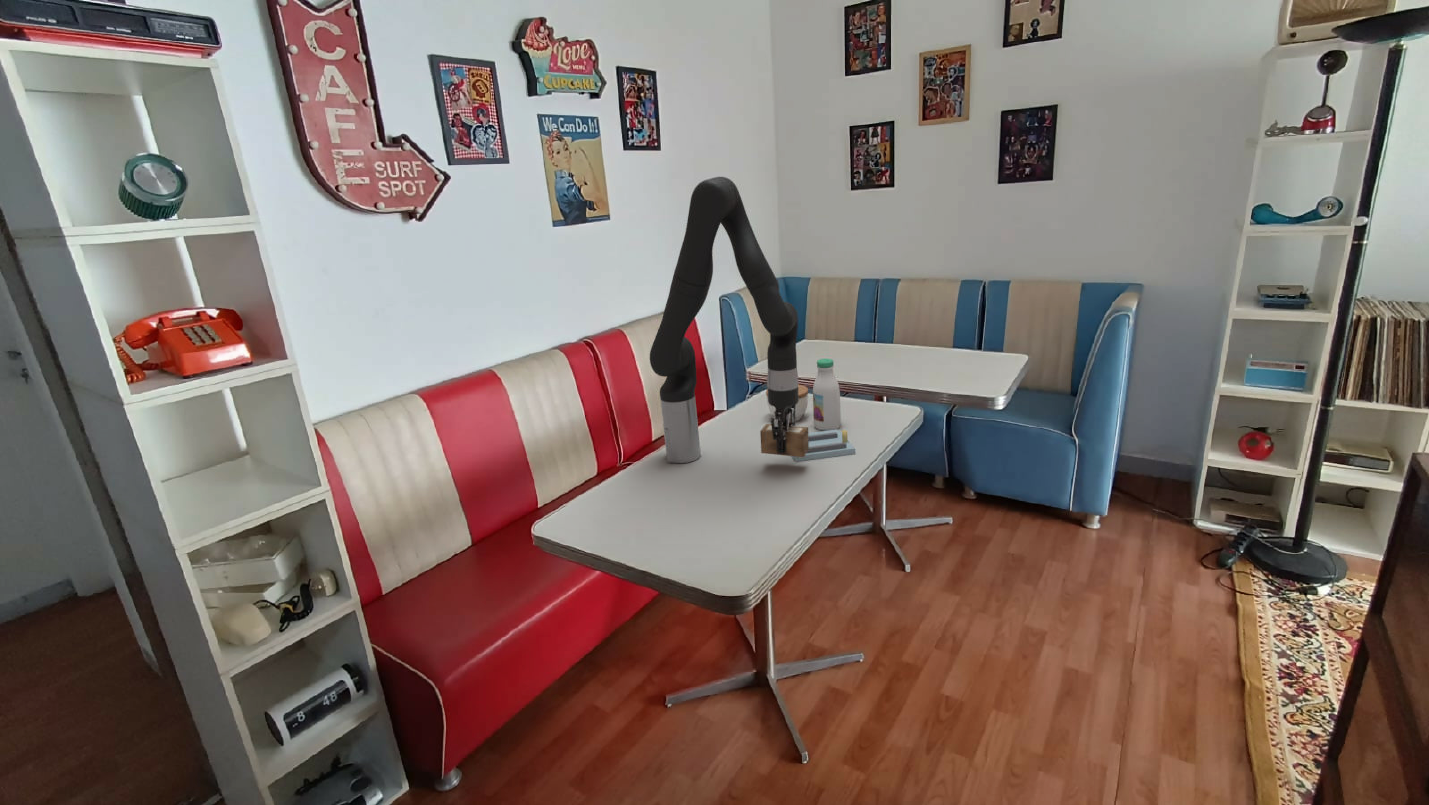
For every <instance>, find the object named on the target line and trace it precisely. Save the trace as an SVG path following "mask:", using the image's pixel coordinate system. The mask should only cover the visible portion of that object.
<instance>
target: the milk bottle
mask: <svg viewBox="0 0 1429 805" xmlns="http://www.w3.org/2000/svg"><path fill="white" fill-rule="evenodd" d="M833 368H834V360H833V359H831V358H821V359H818V360H817V361H816V369H817V375H816V378H815V380H814V382H813V385H812V386H813V388H812V404H813V405H812V407H813V408H812V409H813V410H812V411H813V424H814V428H815V429H817V430H819V431H829V430H836V429H838V430H839V428H840V427H841V424H842V423H841V422H842V418H841V417H842V416H841V415H842V414H841V411H842V410H841V392H840V390H841V389H840V385H839V382H838V380H837V377H836V376H835V373H834V369H833Z"/></svg>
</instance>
